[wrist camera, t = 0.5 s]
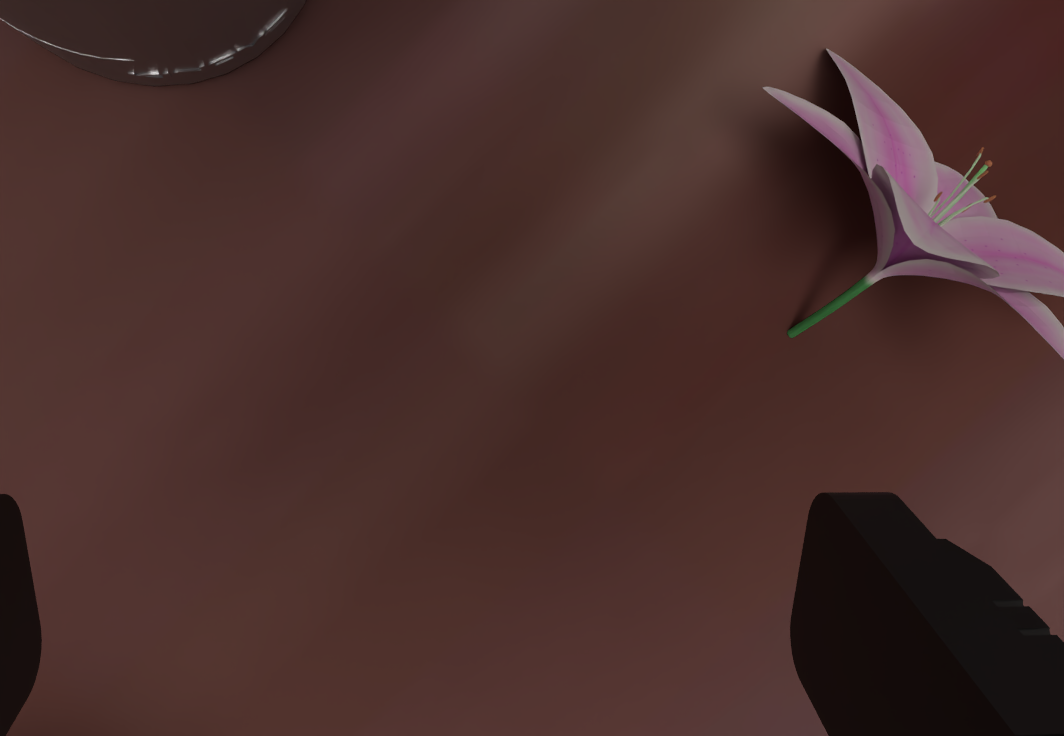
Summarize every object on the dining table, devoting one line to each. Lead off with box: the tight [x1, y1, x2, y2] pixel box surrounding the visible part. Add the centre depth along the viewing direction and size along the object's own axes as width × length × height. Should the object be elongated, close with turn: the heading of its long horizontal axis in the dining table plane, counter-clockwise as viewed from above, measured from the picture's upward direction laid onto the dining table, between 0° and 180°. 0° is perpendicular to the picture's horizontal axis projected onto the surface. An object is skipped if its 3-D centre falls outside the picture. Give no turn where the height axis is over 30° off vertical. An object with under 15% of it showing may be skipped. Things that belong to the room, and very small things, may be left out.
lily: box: [762, 49, 1064, 359], centre depth 27 cm, size 12×12×10 cm
